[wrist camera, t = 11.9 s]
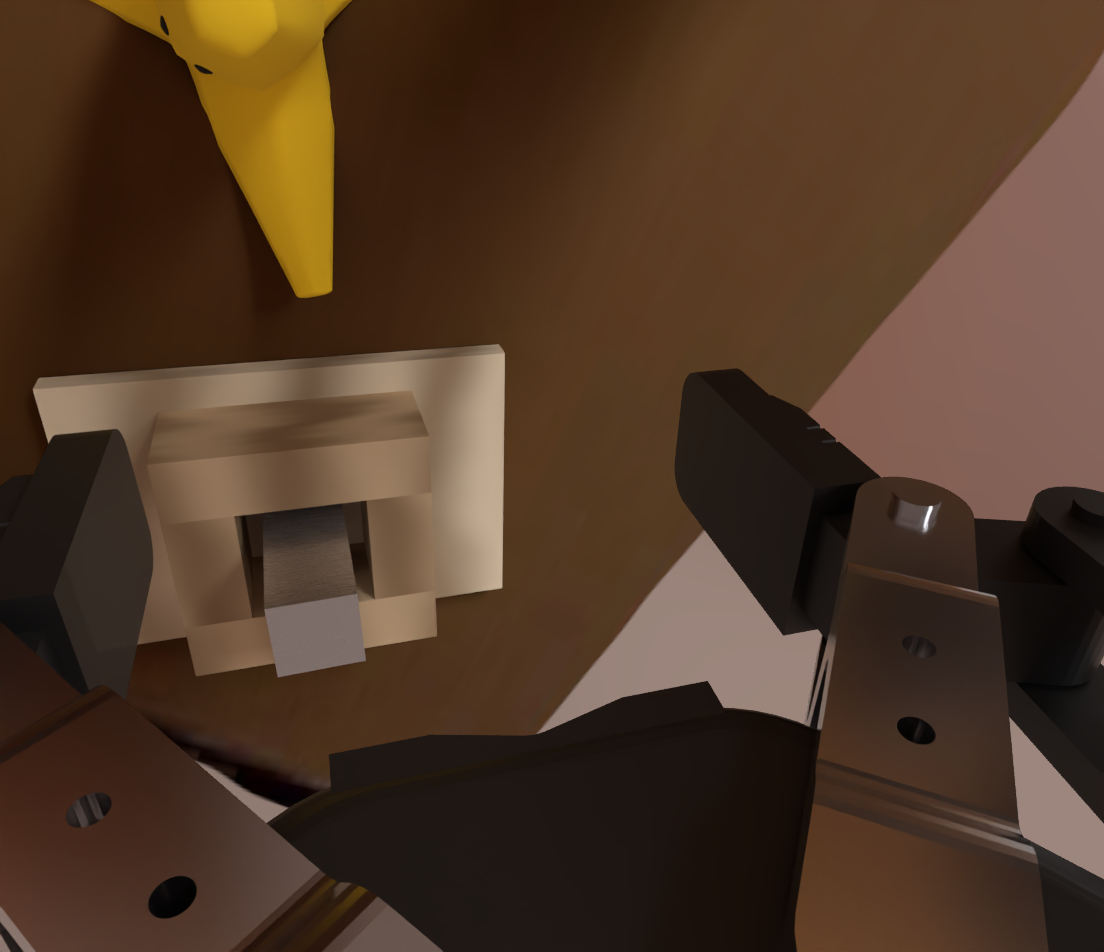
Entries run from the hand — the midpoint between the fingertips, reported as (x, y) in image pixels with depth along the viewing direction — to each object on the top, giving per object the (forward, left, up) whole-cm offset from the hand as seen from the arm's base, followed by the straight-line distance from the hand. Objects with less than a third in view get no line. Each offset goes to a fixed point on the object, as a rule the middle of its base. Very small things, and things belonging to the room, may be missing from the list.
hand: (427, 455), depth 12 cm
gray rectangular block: (+2, +16, -26) cm, 30 cm away
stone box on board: (+2, +16, -27) cm, 31 cm away
